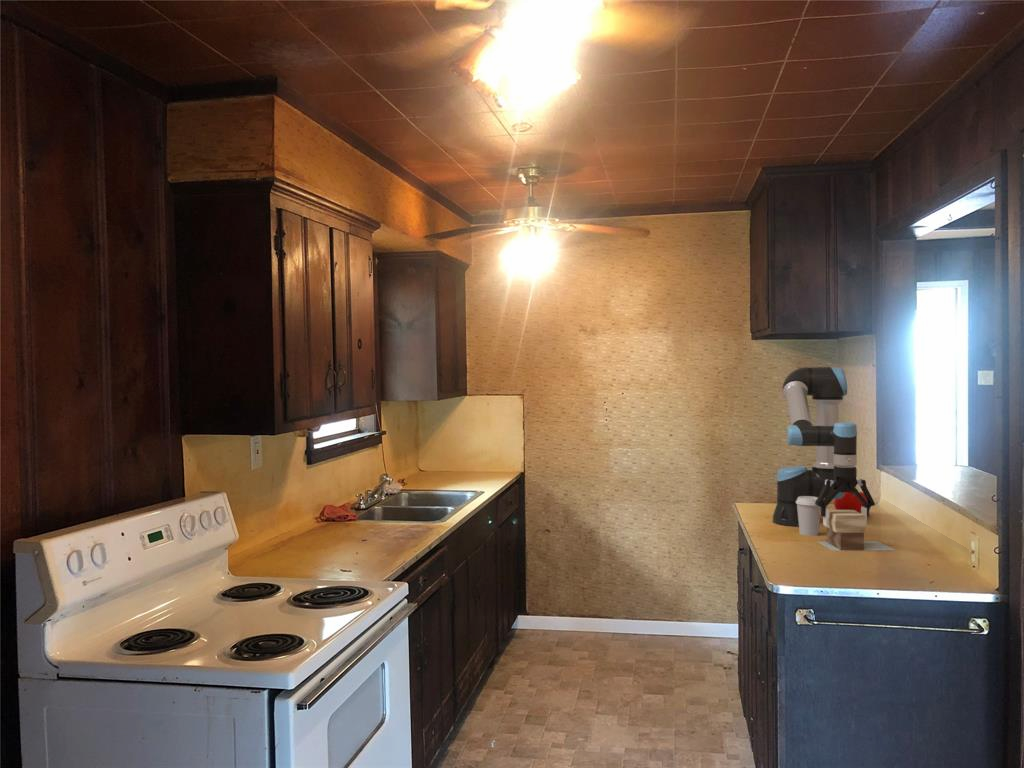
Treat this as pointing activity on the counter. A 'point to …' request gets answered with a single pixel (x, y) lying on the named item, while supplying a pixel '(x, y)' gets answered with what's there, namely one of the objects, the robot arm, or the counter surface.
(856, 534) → the walnut base brick
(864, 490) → the robot arm
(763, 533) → the counter surface
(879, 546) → the board
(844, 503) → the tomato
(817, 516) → the coffee cup
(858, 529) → the oak brick
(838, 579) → the counter surface
